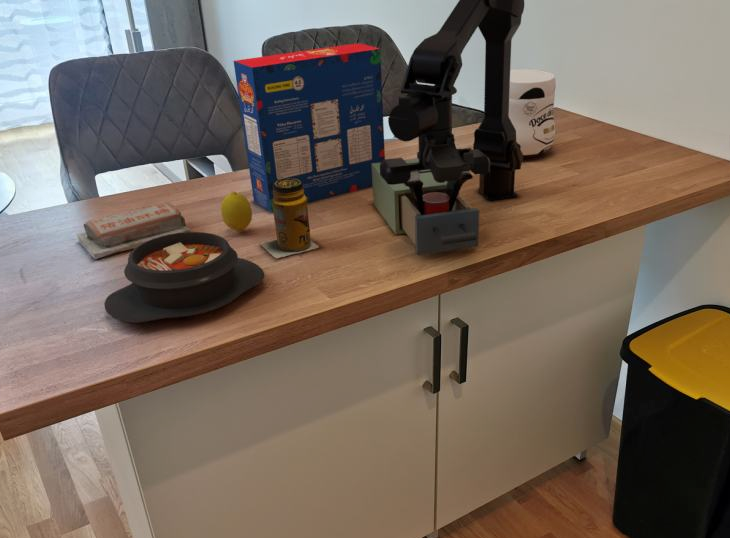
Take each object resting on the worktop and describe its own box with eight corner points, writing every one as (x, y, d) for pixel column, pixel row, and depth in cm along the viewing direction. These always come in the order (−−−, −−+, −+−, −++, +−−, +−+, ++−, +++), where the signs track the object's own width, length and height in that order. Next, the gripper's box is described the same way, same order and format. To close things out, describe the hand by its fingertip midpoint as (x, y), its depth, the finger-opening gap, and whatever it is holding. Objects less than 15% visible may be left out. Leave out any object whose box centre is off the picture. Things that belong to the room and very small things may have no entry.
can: (453, 228, 131) (453, 200, 128) (426, 231, 130) (426, 204, 127) (444, 217, 135) (444, 191, 132) (418, 221, 134) (417, 194, 131)
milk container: (558, 163, 171) (565, 83, 161) (484, 163, 171) (487, 84, 161) (548, 141, 185) (554, 67, 176) (481, 141, 186) (483, 68, 176)
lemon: (259, 228, 140) (254, 188, 135) (244, 239, 135) (238, 198, 131) (235, 224, 141) (228, 185, 137) (219, 235, 137) (212, 195, 133)
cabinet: (458, 225, 140) (459, 182, 135) (395, 234, 136) (394, 191, 132) (431, 196, 153) (431, 156, 148) (373, 204, 150) (371, 163, 145)
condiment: (319, 248, 132) (313, 184, 125) (276, 259, 128) (267, 194, 121) (302, 234, 137) (295, 173, 130) (260, 245, 133) (251, 182, 127)
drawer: (490, 259, 125) (491, 222, 121) (427, 269, 122) (427, 231, 118) (449, 215, 142) (449, 181, 138) (393, 222, 139) (391, 188, 135)
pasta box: (366, 173, 166) (358, 43, 151) (386, 182, 160) (380, 48, 146) (253, 201, 152) (233, 60, 137) (271, 212, 146) (252, 67, 131)
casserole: (133, 349, 103) (119, 297, 99) (90, 301, 115) (76, 253, 111) (287, 295, 116) (281, 247, 112) (234, 257, 129) (226, 212, 124)
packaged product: (167, 196, 141) (187, 211, 135) (172, 219, 144) (192, 235, 137) (71, 218, 132) (87, 235, 125) (78, 243, 135) (94, 261, 128)
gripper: (395, 145, 114) (398, 236, 122) (504, 133, 119) (500, 222, 127) (377, 126, 123) (381, 213, 131) (479, 116, 128) (477, 200, 136)
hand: (435, 212), depth 131 cm, fingers closed on can, 5 cm apart
